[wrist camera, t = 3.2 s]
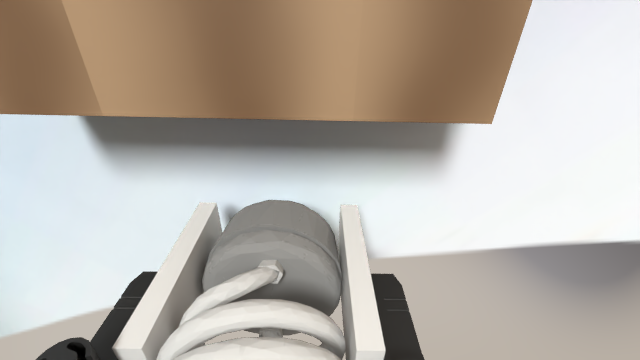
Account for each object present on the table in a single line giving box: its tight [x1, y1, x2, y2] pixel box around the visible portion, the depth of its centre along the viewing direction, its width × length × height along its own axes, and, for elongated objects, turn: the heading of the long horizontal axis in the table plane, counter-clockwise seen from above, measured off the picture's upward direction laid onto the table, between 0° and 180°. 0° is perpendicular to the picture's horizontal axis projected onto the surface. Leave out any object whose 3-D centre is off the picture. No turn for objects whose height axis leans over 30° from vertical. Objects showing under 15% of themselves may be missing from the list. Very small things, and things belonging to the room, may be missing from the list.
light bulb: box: [156, 200, 346, 360], centre depth 10 cm, size 6×6×12 cm
